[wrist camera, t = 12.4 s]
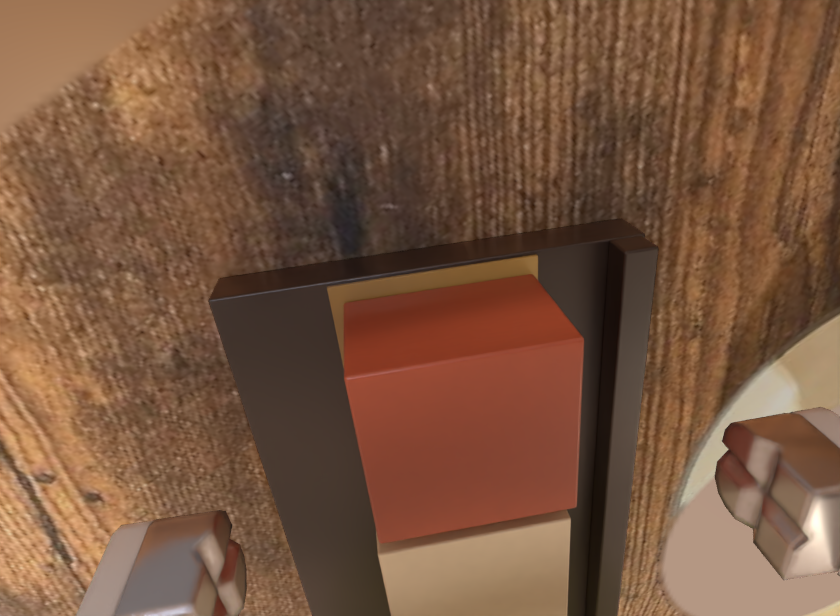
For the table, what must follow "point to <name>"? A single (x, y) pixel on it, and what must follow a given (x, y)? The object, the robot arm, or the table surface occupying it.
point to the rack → (338, 448)
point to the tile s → (464, 405)
